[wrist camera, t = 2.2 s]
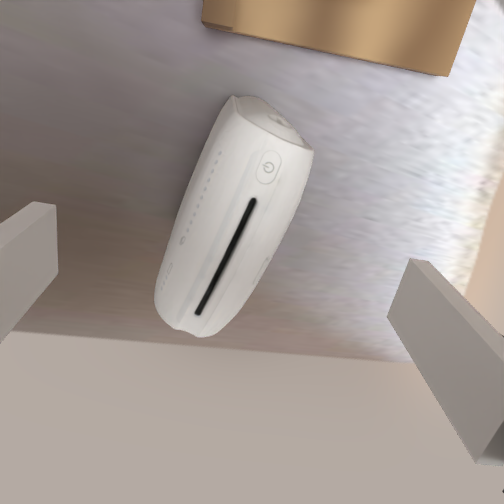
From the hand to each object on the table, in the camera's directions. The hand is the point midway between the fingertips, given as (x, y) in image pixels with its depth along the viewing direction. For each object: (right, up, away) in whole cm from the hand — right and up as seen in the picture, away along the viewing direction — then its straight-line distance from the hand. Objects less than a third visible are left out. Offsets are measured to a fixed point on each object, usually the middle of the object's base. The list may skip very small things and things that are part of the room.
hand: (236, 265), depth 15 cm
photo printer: (-1, +6, +11) cm, 13 cm away
